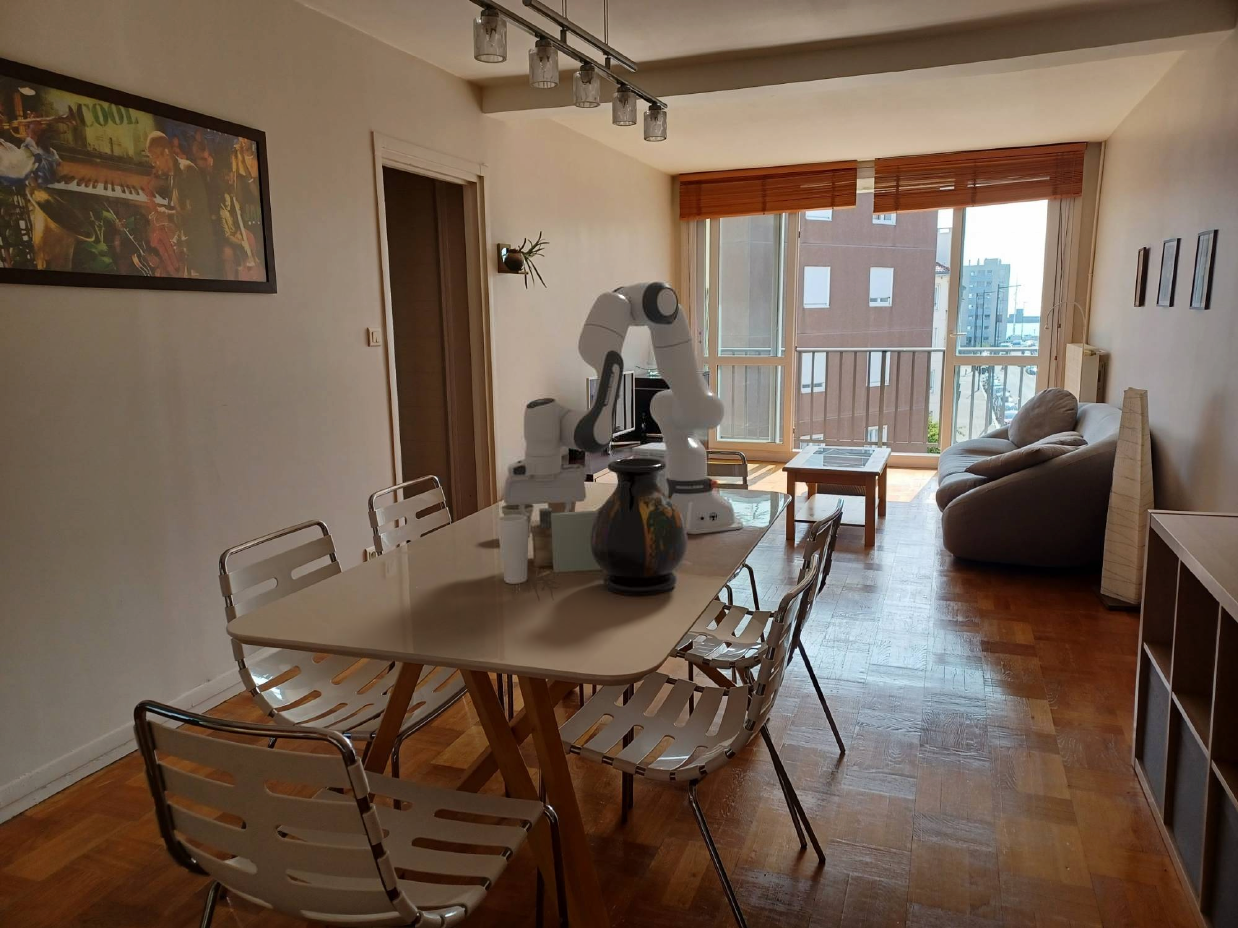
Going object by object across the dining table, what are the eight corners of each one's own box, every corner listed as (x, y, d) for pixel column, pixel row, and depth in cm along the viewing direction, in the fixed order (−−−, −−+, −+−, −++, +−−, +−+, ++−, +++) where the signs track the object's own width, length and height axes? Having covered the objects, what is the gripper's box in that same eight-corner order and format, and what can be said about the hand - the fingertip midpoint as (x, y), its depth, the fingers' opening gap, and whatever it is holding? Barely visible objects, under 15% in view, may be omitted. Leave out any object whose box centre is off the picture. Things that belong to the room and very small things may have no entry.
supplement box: (667, 503, 276) (666, 449, 273) (632, 499, 283) (631, 447, 280) (686, 495, 287) (686, 444, 284) (653, 492, 294) (652, 442, 291)
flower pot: (539, 532, 242) (537, 502, 241) (532, 540, 233) (530, 510, 232) (506, 532, 243) (504, 502, 242) (498, 541, 234) (496, 510, 233)
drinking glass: (535, 577, 199) (532, 515, 197) (522, 586, 193) (519, 521, 190) (509, 575, 201) (505, 513, 199) (496, 584, 195) (492, 520, 192)
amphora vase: (672, 605, 177) (669, 472, 172) (576, 596, 185) (571, 469, 180) (699, 575, 197) (697, 455, 192) (612, 568, 204) (608, 453, 200)
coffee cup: (586, 518, 258) (584, 479, 256) (566, 525, 249) (564, 485, 247) (558, 515, 263) (557, 476, 261) (538, 522, 255) (536, 482, 253)
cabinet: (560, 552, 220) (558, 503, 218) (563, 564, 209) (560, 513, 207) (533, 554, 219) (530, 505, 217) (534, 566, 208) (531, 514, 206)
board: (617, 561, 211) (615, 505, 208) (620, 568, 205) (618, 511, 202) (552, 565, 209) (550, 509, 206) (553, 572, 203) (551, 514, 201)
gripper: (584, 461, 213) (586, 515, 215) (502, 465, 210) (505, 519, 213) (587, 465, 207) (589, 521, 209) (501, 469, 204) (504, 525, 207)
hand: (546, 520), depth 211 cm, fingers open, 8 cm apart
